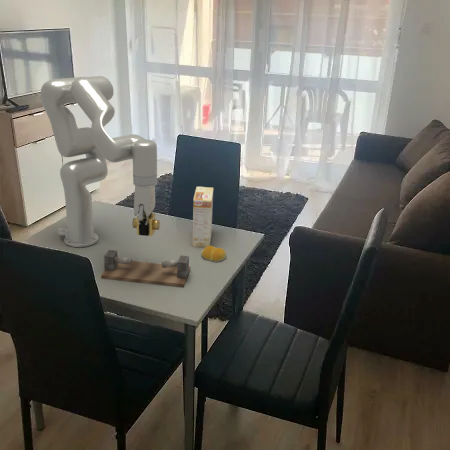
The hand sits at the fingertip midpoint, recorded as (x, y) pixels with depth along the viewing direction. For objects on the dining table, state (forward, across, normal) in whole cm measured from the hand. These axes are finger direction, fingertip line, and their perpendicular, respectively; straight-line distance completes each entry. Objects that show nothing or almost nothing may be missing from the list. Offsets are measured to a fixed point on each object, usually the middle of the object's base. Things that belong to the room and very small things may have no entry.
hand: (146, 231), depth 165 cm
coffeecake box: (+16, -31, +14) cm, 38 cm away
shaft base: (+16, +1, 0) cm, 16 cm away
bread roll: (+16, -17, +21) cm, 32 cm away
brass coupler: (+1, 0, 0) cm, 1 cm away
